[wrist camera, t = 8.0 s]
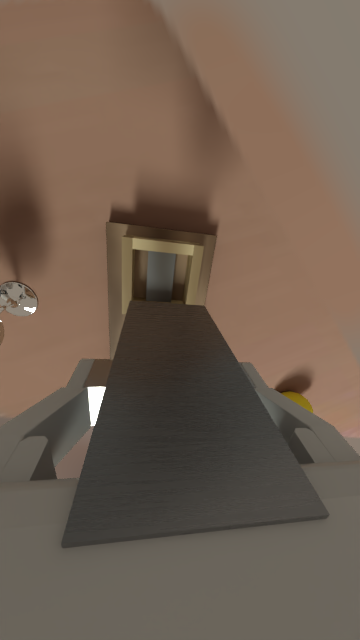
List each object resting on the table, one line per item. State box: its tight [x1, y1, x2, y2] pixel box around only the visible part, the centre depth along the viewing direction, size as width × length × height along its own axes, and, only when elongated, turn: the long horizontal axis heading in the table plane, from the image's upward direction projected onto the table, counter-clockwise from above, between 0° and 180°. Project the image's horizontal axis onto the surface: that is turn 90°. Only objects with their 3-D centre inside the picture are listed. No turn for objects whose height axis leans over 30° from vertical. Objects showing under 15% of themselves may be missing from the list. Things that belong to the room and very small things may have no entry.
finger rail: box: [106, 222, 217, 360], centre depth 24 cm, size 12×24×12 cm, turn 173°
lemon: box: [281, 391, 313, 413], centre depth 36 cm, size 7×5×5 cm
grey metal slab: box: [61, 301, 330, 548], centre depth 8 cm, size 5×4×9 cm
